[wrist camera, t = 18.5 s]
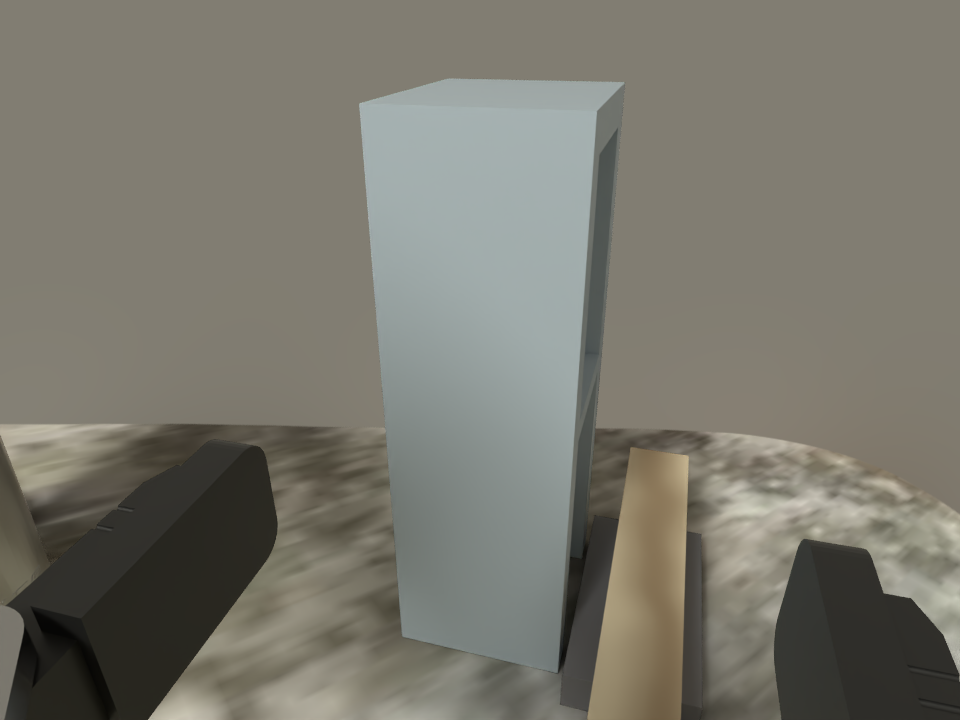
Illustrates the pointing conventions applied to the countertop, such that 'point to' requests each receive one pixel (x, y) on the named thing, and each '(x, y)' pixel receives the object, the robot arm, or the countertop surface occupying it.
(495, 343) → the slate stand
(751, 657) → the countertop surface
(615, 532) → the charcoal block
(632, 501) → the maple bar
